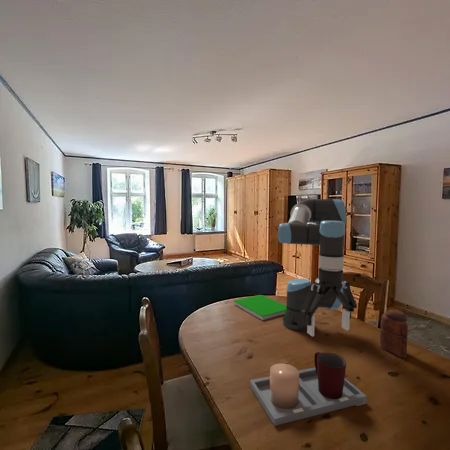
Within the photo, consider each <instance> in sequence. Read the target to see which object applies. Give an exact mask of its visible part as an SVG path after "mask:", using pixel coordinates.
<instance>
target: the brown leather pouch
mask: <svg viewBox="0 0 450 450" xmlns="http://www.w3.org/2000/svg"><path fill="white" fill-rule="evenodd" d="M407 321H408V318H407V316H406V314H405V313H404V312H402V310H399V309H389V310H387V311H386V312H384V313H383V314H382V315H381V320H380V333H379V334H380V335H379V337H380V338H379V339H380V340H379V341H380V342H379V343H380V344H379V347H380V348H382V350H384V351H386V352H389V353H390V354H393V355H395V356H398V357H399V358H402V359H405V358H406V357H407V351H408V332H409V329H408V323H407Z"/></svg>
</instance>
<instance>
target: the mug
mask: <svg viewBox="0 0 450 450" xmlns="http://www.w3.org/2000/svg"><path fill="white" fill-rule="evenodd" d="M313 359H314V360H313V361H314V367H315V369H316V373H317V376H318V389H319V392H320V393H321V394H322V395H323V396H324V397H327V398H329V399H339V398H341V397H342V394H343V387H344V379H345V378H346V371H347V369H346V368H347V361H346V359H345V358H344V357H343V356H341V355H339V354H337V353H333V352H321V351H316V352H315V353H314V358H313Z"/></svg>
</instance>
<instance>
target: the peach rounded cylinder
mask: <svg viewBox="0 0 450 450" xmlns="http://www.w3.org/2000/svg"><path fill="white" fill-rule="evenodd" d="M269 376H270V401H271V402H272V403H273V404H274V405H275V406H277V407H279V408H283V409H291V408H294V407H296V406H297V404H298V398H299V370H298V369H297V367H295V366H294V365H291V364H288V363H281V362H280V363H276V364H273V365H272V366H271V367H270V368H269Z"/></svg>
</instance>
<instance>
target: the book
mask: <svg viewBox="0 0 450 450" xmlns="http://www.w3.org/2000/svg"><path fill="white" fill-rule="evenodd" d="M234 304H235V305H234ZM233 305H234V306H236V305H237V306H236V307H237V308H240V309H241V308H242V309H241V310H243V311H245V312H247V313H249V314H250V315H252V316H254V317H256V318H257V319H260V320H261V321H265V320H269V319H272V318H276V317H278V316H279V317H280V316H282V315H283V316H284V314H285V311H286V306H287V304H286V305H285V304H284V303H281V302H279V301H276V300H274V299H271V298H270V297H267V296H265V295H263V294H257V295H253V296H249V297H243V298H239V299H234V300H233Z"/></svg>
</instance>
